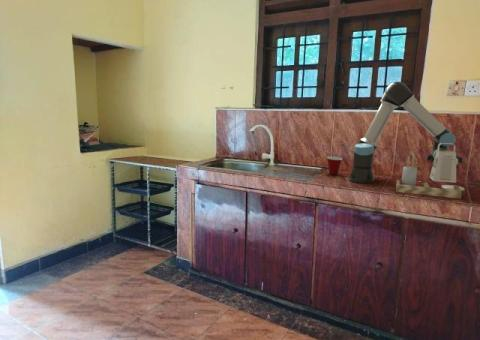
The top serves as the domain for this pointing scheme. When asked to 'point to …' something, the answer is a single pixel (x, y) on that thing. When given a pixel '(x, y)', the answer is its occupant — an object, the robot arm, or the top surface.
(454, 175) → the grater
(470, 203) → the top surface
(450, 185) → the plate
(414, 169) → the utensil crock
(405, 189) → the rack
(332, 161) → the plastic cup
